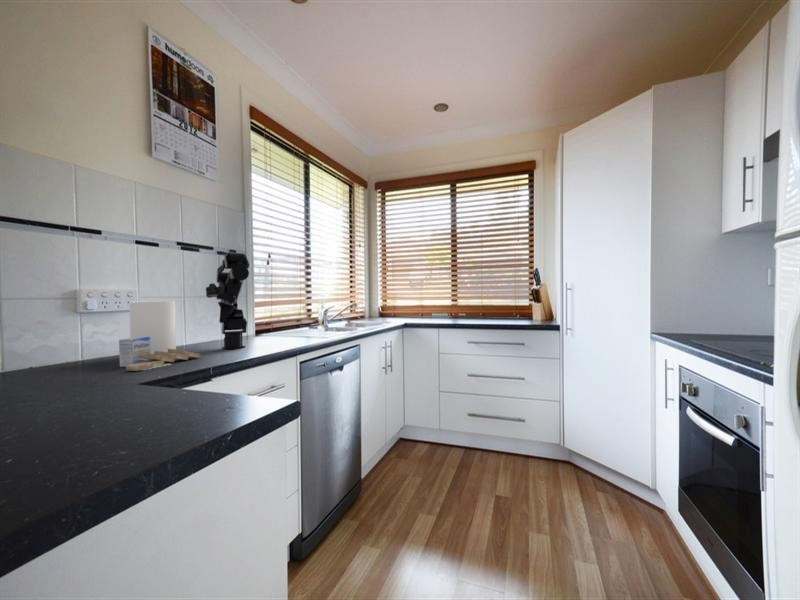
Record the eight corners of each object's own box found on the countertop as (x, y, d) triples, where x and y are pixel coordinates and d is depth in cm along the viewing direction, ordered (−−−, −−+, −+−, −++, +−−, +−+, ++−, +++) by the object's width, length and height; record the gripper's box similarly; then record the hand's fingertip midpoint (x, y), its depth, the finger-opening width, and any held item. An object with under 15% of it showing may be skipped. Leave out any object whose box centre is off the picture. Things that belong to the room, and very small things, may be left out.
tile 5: (163, 362, 116) (133, 368, 108) (171, 363, 115) (142, 369, 106) (163, 367, 116) (133, 373, 108) (171, 368, 115) (142, 374, 106)
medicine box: (133, 367, 111) (132, 339, 111) (119, 367, 111) (118, 339, 111) (151, 362, 119) (150, 336, 119) (138, 362, 119) (137, 336, 119)
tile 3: (169, 358, 119) (139, 353, 112) (175, 357, 117) (145, 352, 110) (168, 362, 118) (137, 357, 111) (174, 362, 116) (143, 357, 109)
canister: (176, 357, 128) (175, 301, 127) (129, 361, 120) (128, 302, 119) (175, 351, 139) (174, 300, 138) (131, 355, 131) (130, 301, 131)
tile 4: (154, 359, 114) (126, 365, 105) (164, 360, 113) (136, 366, 104) (154, 364, 114) (126, 370, 105) (164, 364, 113) (136, 370, 104)
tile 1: (194, 353, 127) (168, 348, 120) (200, 353, 125) (174, 349, 118) (193, 357, 127) (167, 352, 119) (199, 357, 125) (173, 353, 117)
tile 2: (183, 355, 123) (154, 350, 116) (188, 355, 121) (159, 351, 114) (182, 359, 123) (153, 355, 116) (187, 359, 121) (158, 355, 114)
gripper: (214, 283, 144) (201, 320, 140) (208, 272, 127) (193, 314, 123) (242, 290, 148) (230, 327, 144) (241, 281, 131) (227, 322, 127)
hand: (220, 322), depth 135 cm, fingers closed
